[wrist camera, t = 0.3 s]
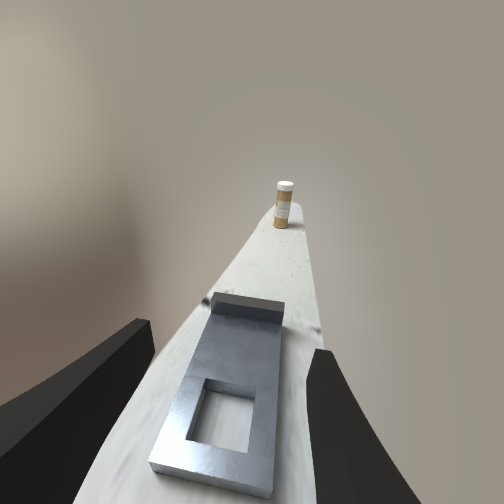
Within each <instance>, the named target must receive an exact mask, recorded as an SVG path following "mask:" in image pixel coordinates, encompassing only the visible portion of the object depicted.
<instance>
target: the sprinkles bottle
mask: <svg viewBox="0 0 504 504" xmlns="http://www.w3.org/2000/svg"><path fill="white" fill-rule="evenodd" d="M293 187H294V184H293V183H292V182H288V181H280V182H278V187H277V189H278V192H277V200H276V207H275V217H274V223H273V225H274V226H275V227H277V228H286V227H287V226H288V224H287V223H288V217H289V211H290V205H291V196H292V191H293Z"/></svg>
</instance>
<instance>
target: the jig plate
mask: <svg viewBox="0 0 504 504" xmlns="http://www.w3.org/2000/svg"><path fill="white" fill-rule="evenodd" d="M284 304H285V302H278V301H272V300H265V299H258V298H252V297H245V296H239V295H232V294H225V293H219V292H214V294H213V296H212V299H211V314H210V317H209V319H208V321H207V324H206V326H205V328H204V331H203V333H202V335H201V338H200V340H199V343H198V345H197V347H196V350H195V352H194V354H193V357H192V359H191V361H190V364H189V366H188V368H187V371H186V373H185V376H184V378H183V380H182V383H181V385H180V387H179V390H178V392H177V394H176V397H175V399H174V401H173V404H172V406H171V409H170V411H169V413H168V416H167V418H166V420H165V423H164V425H163V427H162V430H161V432H160V434H159V437H158V439H157V442H156V444H155V446H154V449H153V451H152V453H151V456H150V458H149V460H148V461H149V463H150V466H151V468H152V470H153V471H154V472H158V473H163V474H167V475H171V476H175V477H179V478H183V479H187V480H191V481H195V482H200V483H204V484H208V485H212V486H216V487H220V488H224V489H228V490H233V491H237V492H241V493H245V494H249V495H253V496H257V497H261V498H265V499H270V497H271V494H272V491H273V476H274V458H275V440H276V422H277V404H278V386H279V368H280V350H281V332H282V321H283V315H284ZM206 390H211V391H216V392H221V393H226V394H231V395H236V396H241V397H246V398H251V399H255V401H254V408H253V415H252V423H251V430H250V437H249V444H248V452H247V453H242V452H238V451H233V450H229V449H224V448H220V447H215V446H211V445H206V444H202V443H198V442H193V441H190V440H191V437H192V433H193V430H194V427H195V424H196V421H197V418H198V415H199V412H200V409H201V405H202V402H203V399H204V396H205V393H206Z"/></svg>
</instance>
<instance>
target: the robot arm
mask: <svg viewBox="0 0 504 504" xmlns="http://www.w3.org/2000/svg"><path fill="white" fill-rule="evenodd" d="M154 354H155V348H154V343H153V337H152V331H151V326H150V321H149V320H144V319H138V318H136V319H135V320H133V321H132V322H130V323H129V324H128V325H126V326H125V327H123V328H122V329H121V330H119V331H118V332H117V333H115V334H114V335H112V336H111V337H109V338H108V339H107V340H105V341H104V342H102V343H101V344H100V345H98V346H97V347H95V348H94V349H92V350H91V351H89V352H88V353H87V354H85V355H84V356H82V357H81V358H79V359H78V360H76V361H74V362H73V363H72V364H70V365H68V366H67V367H65V368H64V369H62V370H61V371H59V372H58V373H56V374H54V375H53V376H51V377H50V378H48V379H46V380H45V381H43V382H42V383H40V384H38V385H36V386H35V387H33V388H31V389H30V390H28V391H26V392H24V393H23V394H21V395H19V396H18V397H16V398H14V399H12V400H10V401H9V402H7V403H5V404H3V405H1V406H0V504H73V501H74V499H75V497H76V495H77V493H78V491H79V489H80V487H81V485H82V483H83V481H84V479H85V477H86V475H87V473H88V471H89V469H90V467H91V466H92V464H93V462H94V460H95V458H96V456H97V454H98V452H99V450H100V448H101V446H102V444H103V443H104V441H105V439H106V438H107V436H108V434H109V432H110V431H111V429H112V427H113V426H114V424H115V423H116V421H117V419H118V418H119V416H120V414H121V413H122V411H123V410H124V408H125V406H126V405H127V403H128V402H129V400H130V398H131V397H132V395H133V393H134V392H135V390H136V389H137V387H138V385H139V384H140V382H141V380H142V379H143V377H144V375H145V373H146V371H147V369H148V367H149V365H150V363H151V360H152V358H153V356H154ZM306 397H307V414H308V423H309V432H310V441H311V449H312V458H313V466H314V475H315V486H316V500H317V504H421V502H420V501H419V500H418V498H417V497H416V495H415V494H414V493H413V491H412V490H411V488H410V487H409V485H408V484H407V482H406V481H405V479H404V478H403V476H402V475H401V473H400V472H399V470H398V469H397V467H396V466H395V464H394V463H393V461H392V460H391V458H390V457H389V455H388V453H387V452H386V450H385V449H384V447H383V445H382V444H381V442H380V441H379V439H378V438H377V436H376V434H375V432H374V431H373V429H372V427H371V426H370V424H369V422H368V420H367V419H366V417H365V415H364V414H363V412H362V410H361V408H360V406H359V404H358V403H357V401H356V399H355V397H354V395H353V394H352V392H351V390H350V388H349V386H348V384H347V382H346V380H345V378H344V376H343V374H342V372H341V370H340V368H339V366H338V364H337V361H336V359H335V357H334V355H333V353H332V352H331V351H328V350H322V349H315V352H314V356H313V359H312V362H311V366H310V369H309V372H308V376H307V379H306Z"/></svg>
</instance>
